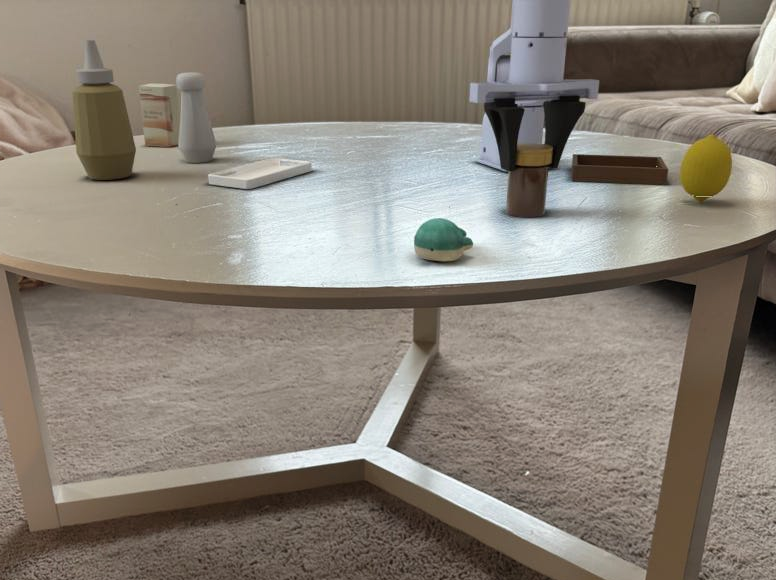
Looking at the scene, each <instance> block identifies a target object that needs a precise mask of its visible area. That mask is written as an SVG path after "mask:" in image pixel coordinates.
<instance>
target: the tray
mask: <svg viewBox="0 0 776 580" xmlns="http://www.w3.org/2000/svg"><path fill="white" fill-rule="evenodd" d="M656 166H657V167H656ZM668 174H669V168H668V166H667V165H666V163H665V161H664V160H663V158H662V157H661V156H646V155H645V156H641V155H640V156H639V155H614V154H613V155H612V154H586V153H585V154H583V153H581V154H580V153H579V154H578V153H573V154H572V160H571V182H582V183H583V182H585V183H586V182H587V183H609V184H632V185H633V184H634V185H635V184H636V185H656V186H657V185H660V186H666V185H667V180H668Z"/></svg>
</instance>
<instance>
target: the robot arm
mask: <svg viewBox="0 0 776 580" xmlns="http://www.w3.org/2000/svg"><path fill="white" fill-rule="evenodd" d="M570 11H571V0H512V1H511V14H510V16H511V17H510V28H509V29H507V30H506V31H505V32H503V34H500V35H499V37H497V38H495V40H493V42H492V43H491V46H490V47H489V57H488V62H487V79H486V82H485V81H484V82H470V83H469V84H470V85H469V103H474V104H483V111H484V115H483V117H482V126H481V141H480V142H481V144H480V157H476V158H474V159H475V160H474V161H475V162H476V163H479V164H483V165H485V166H487V167H491V168H493V169H498V170H499V171H503V172H505V173H506V172H508V173H509V171H514V170H515V165H516V157H517V143H539V144H543V137H544V144H547V145H550V146H552V147H553V153H552V163H550V164H548V165H549V169H558V168H559V165H560V162H561V159H562V156H563V153H564V150H565V148H566V146H567V144H568V143H567V142H568V140H569V138H570V136H571V134H572V132H573V130H574V128H575V126H576V125H577V123H578V121H579V120H580V118H581V117H582V116H583V114H584V113H585V110H586V101H581V100H582V99H587V100H597V99H598V97H599V90H600V89H599V88H600V80H599V79H592V78H591V79H590V78H589V79H588V78H587V79H583V78H582V79H581V78H580V79H577V78H576V79H564V76H565V75H564V74H565V64H566V55H567V44H568V34H569V33H568V31H569V23H570V22H569V21H570ZM509 53H510V54H509ZM543 135H544V136H543Z"/></svg>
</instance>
